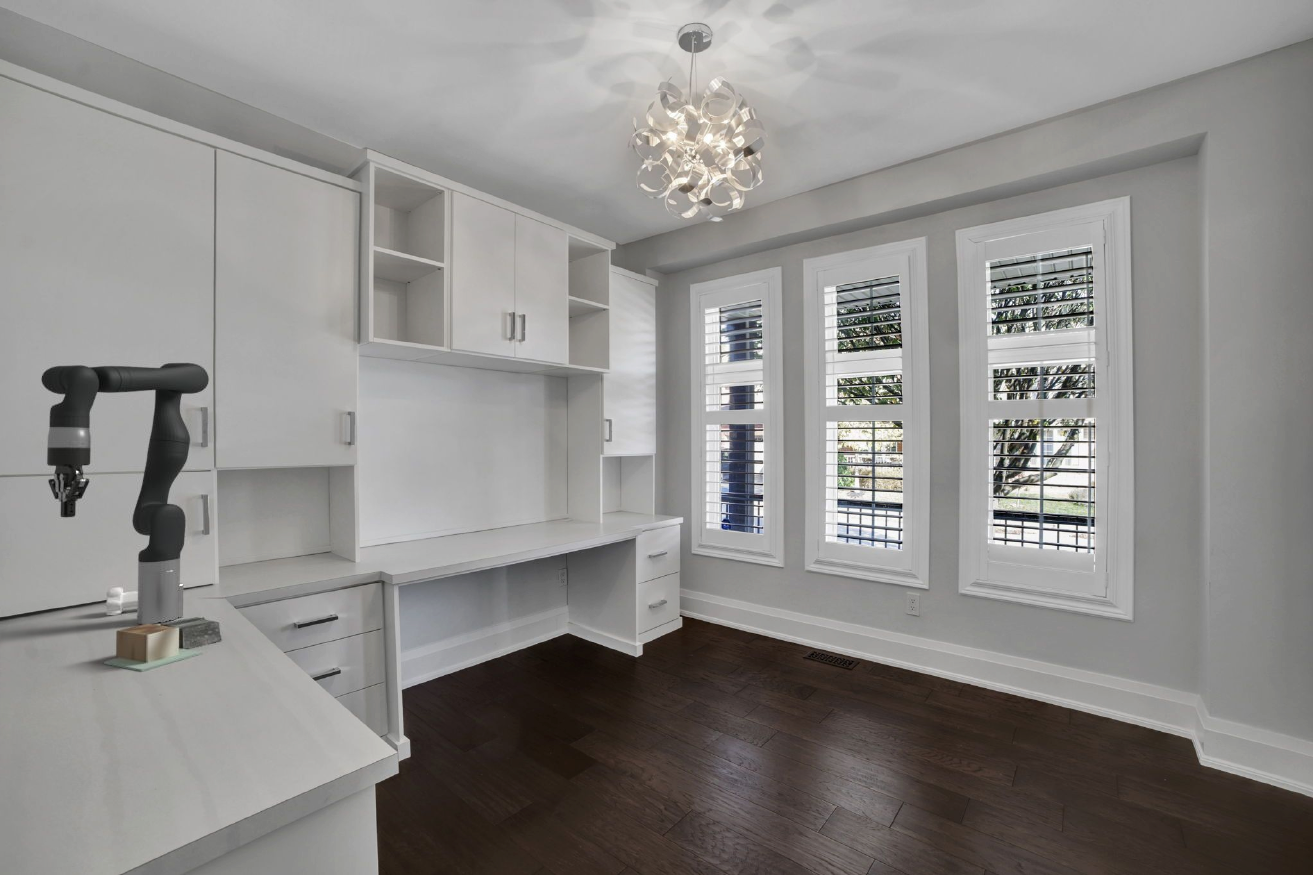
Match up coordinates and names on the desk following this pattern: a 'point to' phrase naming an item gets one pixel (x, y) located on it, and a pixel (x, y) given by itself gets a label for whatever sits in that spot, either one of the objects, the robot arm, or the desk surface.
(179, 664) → the desk surface
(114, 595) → the bone shaped toy
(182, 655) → the sage mat
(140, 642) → the walnut block
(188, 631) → the stone block
